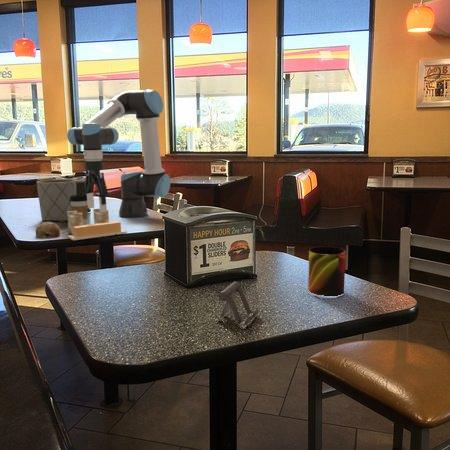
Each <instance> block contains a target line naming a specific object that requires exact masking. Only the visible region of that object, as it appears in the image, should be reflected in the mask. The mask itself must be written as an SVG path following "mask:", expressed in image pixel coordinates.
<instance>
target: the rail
mask: <svg viewBox="0 0 450 450" xmlns="http://www.w3.org/2000/svg"><path fill="white" fill-rule="evenodd" d="M121 229H122V223H121V222H120V221H109V222H106V223H98V224H94V223H91V224H87V225H81V226H73V234H72V235H73V236H75V237H83V236H90V235H98V234H105V233H113V232H120V231H121Z"/></svg>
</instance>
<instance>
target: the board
mask: <svg viewBox="0 0 450 450" xmlns="http://www.w3.org/2000/svg"><path fill="white" fill-rule="evenodd" d="M127 233H128V231H127V230H125V229H122V228H121V231H120V232H113V233H105V234H98V235H90V236H83V237H75V236H73V234H71V235H67V239H69V240H72V241H79V240H86V239H93V238H94V239H95V238H102V237H108V236H116V235H115V234H117V235H122V234H127Z"/></svg>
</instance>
